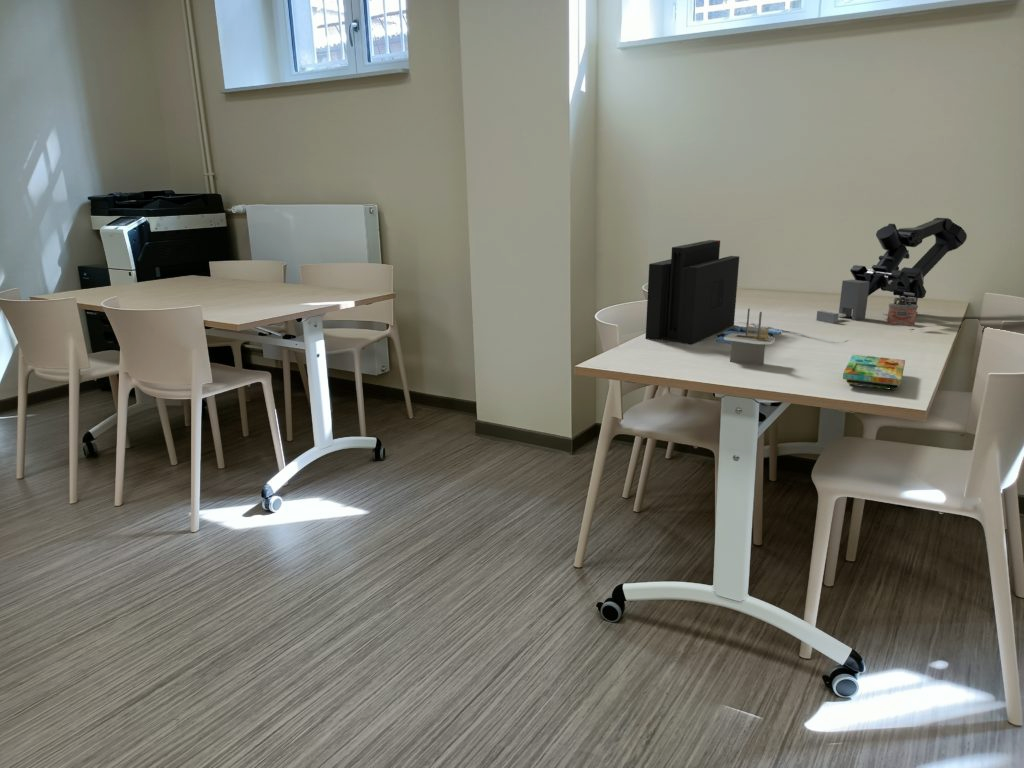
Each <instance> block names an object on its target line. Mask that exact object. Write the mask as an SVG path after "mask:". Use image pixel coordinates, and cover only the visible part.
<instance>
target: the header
mask: <svg viewBox="0 0 1024 768" xmlns="http://www.w3.org/2000/svg"><path fill="white" fill-rule="evenodd" d="M844 316H846V314H843V313H839V312H832V311H827V310H817V311H816V317H815V318H816V319H815V320H816V322H817V321H818V322H822V323H826V324H832V325H836V324H838V322H839V317H844ZM844 318H845V317H844Z"/></svg>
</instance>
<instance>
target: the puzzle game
mask: <svg viewBox="0 0 1024 768" xmlns="http://www.w3.org/2000/svg"><path fill="white" fill-rule="evenodd" d="M905 365H906V360H905V359H901V358H899V359H898V358H890V357H882V356H881V357H879V356H875V355H874V356H872V355H871V356H870V355H859V354H852V355H851V357H850V359H849V361H848V363H847V365H846V367H845V369H844V371H843V375H842V379H843V380H845V381H846V382H847V384H848V385H849V384H854V385H853V386H856V385H862V386H861V387H864V386H870V387H869V388H872V387H880V388H879V389H881V388H890V389H894V390H896V389H897V388H898V387H899V386H901V384H902V380H903V379H902V378H903V375H904V370H905Z"/></svg>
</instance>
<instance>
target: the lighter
mask: <svg viewBox="0 0 1024 768" xmlns="http://www.w3.org/2000/svg"><path fill="white" fill-rule="evenodd" d="M906 301H909V302H908V304H906ZM911 302H916V298H914V297H908V298H905V296H901V297H899V296H894V297H893V302H890V303H889V302H888V303H889V304H888V314H887V320H886V323H887V324H890V325H891V324H892V325H902V326H915V325H916V318H917V316H916V312H918V311H917V309H918V307H919V306H918V304H917V305H912V304H911ZM914 330H915V328H911V329H909V331H914Z"/></svg>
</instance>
